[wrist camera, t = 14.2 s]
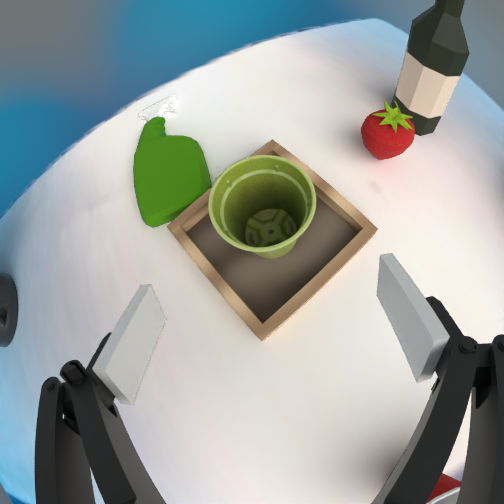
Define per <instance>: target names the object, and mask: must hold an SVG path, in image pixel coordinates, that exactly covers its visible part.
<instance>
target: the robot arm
mask: <svg viewBox="0 0 504 504" xmlns="http://www.w3.org/2000/svg"><path fill="white" fill-rule="evenodd" d="M377 297H378V299H379V301H380V303H381V305H382V307H383V309H384V311H385V313H386V315H387V317H388V319H389V321H390V323H391V325H392V327H393V329H394V331H395V334H396V336H397V338H398V340H399V342H400V344H401V347H402V349H403V351H404V353H405V356H406V358H407V360H408V363H409V365H410V367H411V370H412V372H413V375H414V377H415V380H416V382H417V383H418V382H421V381H424V380H427V379H430V378H431V377H432V375H433V373H434V371H436V374H437V376H438V378H437V380H436V381H435V383H434V385H433V387H432V389H431V390H432V393H431V395H430V398H429V400H428V403H427V405H426V407H425V410H424V412H423V414H422V417H421V419H420V421H419V423H418V425H417V428H416V430H415V432H414V434H413V436H412V438H411V440H410V442H409V444H408V446H407V447H406V449H405V451H404V453H403V455H402V457H401V458H400V460H399V462H398V464H397V465H396V467H395V469H394V470H393V472H392V474H391V475H390V477H389V478H388V480H387V481H386V483H385V485H384V486H383V488H382V489H381V491H380V492H379V493H378V495H377V496H376V498H375V499H374V501H373V502H372V503H371V504H426V502H427V500H428V499H429V497H430V495H431V493H432V491H433V490H434V488H435V486H436V484H437V482H438V480H439V478H440V476H441V474H442V472H443V469H444V467H445V465H446V463H447V461H448V458H449V456H450V453H451V451H452V449H453V446H454V443H455V441H456V438H457V435H458V433H459V430H460V427H461V424H462V421H463V418H464V415H465V411H466V408H467V405H468V401H469V397H470V393H471V389H472V397H471V420H470V432H469V441H468V449H467V456H466V462H465V468H464V473H463V478H462V482H461V487H460V491H459V495H458V499H457V502H456V504H504V335H503V334H501V335H497V336H496V337H495V338H494V340H493V341H492V343H488V344H478V343H477V342H476V341H475V340H474V339H473V338H471V337H469V336H464V335H463V334H462V332H461V331H460V329H459V328H458V326H457V325H456V323H455V322H454V320H453V319H452V317H451V316H450V315H449V313H448V311H447V310H446V309H445V307H444V306H443V304H442V303H441V302H440V301H439V300H438V299H436V298H435V297H433V296H431V297H427V298H425V297H424V296H423V294H422V293H421V291H420V290H419V289H418V287H417V286H416V284H415V283H414V282H413V280H412V279H411V277H410V276H409V275H408V273H407V272H406V271H405V269H404V268H403V267H402V265H401V264H400V263H399V261H398V260H397V259H396V257H395V256H394V255H393V254H392V253H390V254H383V255H380V262H379V275H378V287H377ZM17 314H18V301H17V292H16V288H15V284H14V282H13V280H12V278H11V277H10V276H9V275H6V274H3V273H0V347H6V346H8V345H9V344H10V342H11V341H12V339H13V336H14V333H15V329H16V324H17ZM166 320H167V319H166V317H165V315H164V313H163V310H162V308H161V306H160V304H159V301H158V299H157V297H156V295H155V292H154V290H153V287H152V285H151V284H149V285H140V287H139V289H138V290H137V292H136V293H135V295H134V297H133V298H132V300H131V301H130V303H129V305H128V306H127V308H126V310H125V311H124V313H123V315H122V316H121V318H120V320H119V321H118V323H117V325H116V327H115V328H114V330H113V332H112V333H108V334H107V335H106V336H105V337H104V338H103V340H102V341H101V343H100V345H99V347H98V348H97V350H96V353H95V354H94V355H93V357H92V359H91V361H90V363H89V365H88V366H87V368H86V369H85V368H84V367H83V366H82V364H81V363H80V362H79V361H78V360H72V361H69V362H67V363H66V364H65V365H64V366H63V367H62V369H61V371H60V376H61V377H62V378H63V379H64V380H65V381H66V382H64V383H61V382H60V380H59V379H58V378H56V377H50V378H48V379H47V380H46V381H45V382H44V383H43V385H42V388H41V394H40V401H39V408H38V417H37V427H36V440H35V493H36V504H96V503H95V498H94V492H93V486H92V479H91V471H90V467H91V470H92V473H93V476H94V478H95V481H96V483H97V486H98V488H99V491H100V493H101V495H102V498H103V500H104V502H105V504H166V503H165V501H164V499H163V498H162V496H161V495H160V493H159V491H158V490H157V488H156V487H155V485H154V483H153V481H152V480H151V478H150V476H149V474H148V473H147V471H146V469H145V467H144V465H143V463H142V462H141V460H140V458H139V456H138V454H137V452H136V450H135V448H134V446H133V444H132V441H131V439H130V437H129V435H128V433H127V431H126V428H125V426H124V424H123V421H122V419H121V417H120V414H119V412H118V409H117V407H116V405H115V403H114V402H113V401H114V398H115V397H116V398H117V399H118V401H119V402H120V403H122V404H129V405H133V404H134V401H135V399H136V396H137V393H138V390H139V388H140V385H141V382H142V380H143V377H144V374H145V372H146V369H147V367H148V364H149V361H150V359H151V356H152V354H153V351H154V349H155V346H156V344H157V341H158V339H159V336H160V334H161V332H162V329H163V327H164V324H165V322H166ZM63 414H64V419H63Z"/></svg>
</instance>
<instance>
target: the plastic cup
mask: <svg viewBox="0 0 504 504" xmlns="http://www.w3.org/2000/svg"><path fill="white" fill-rule="evenodd" d="M460 487H461V481H458V480H456V479H454V478H452V477H449V476H447V475H445V474H443V473H442V474H441V476H440V478H439V480H438V482H437V484H436V486H435V488H434V490H433V491H432V493H431V495H430V497H429V499H428V500H427V502H426V504H456V502H457V499H458V495H459V491H460Z"/></svg>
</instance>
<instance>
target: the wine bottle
mask: <svg viewBox="0 0 504 504" xmlns="http://www.w3.org/2000/svg"><path fill="white" fill-rule="evenodd" d="M464 1H465V0H436V1H435V5H434V6H432V7H431V8H430V9H428V10H426V11H425V12H423V13H422V14H421V15H419V16H418V17H416V18H415V19H414V20H413V21H412V25H411V30H410V35H409V39H408V44H407V48H406V52H405V56H404V60H403V64H402V68H401V72H400V76H399V79H398V83H397V87H396V90H395V94H394V97H393V100H392V105H391V108H392V109H394V108H396V107H397V105H398V108H399V110H400V112H401V113H402V114H405V115H408V116H411V117H413V118H409V120H410V121H411V122H412V124H413V125H414V128H415V134H417V135H419V136H422V135H425V134H429V133H433V132H434V130H435V128H436V126H437V124H438V122H439V120H440V118H441V116H442V114H443V112H444V110H445V108H446V106H447V104H448V102H449V100H450V98H451V96H452V93H453V91H454V89H455V87H456V85H457V82H458V80H459V78H460V75H461V73H462V70H463V68H464V66H465V63H466V60H467V58H468V56H469V50H468V46H467V42H466V38H465V34H464V31H463V27H462V24H461V20H460V16H461V12H462V9H463V5H464ZM394 100H395V101H396V103H397V105H396V103H395V101H394ZM399 110H398V112H399Z"/></svg>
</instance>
